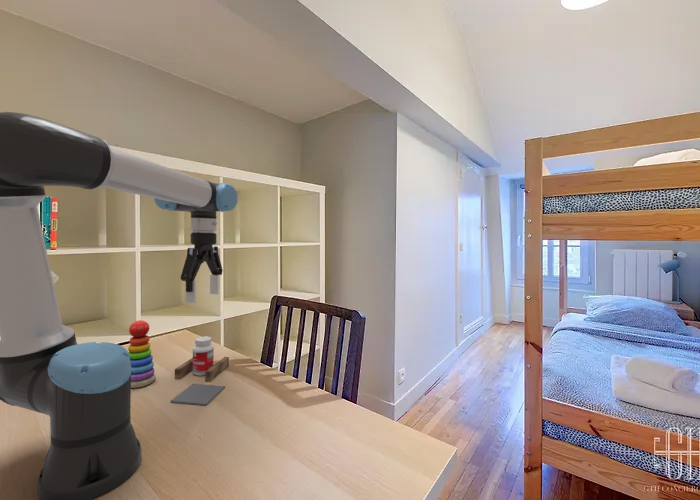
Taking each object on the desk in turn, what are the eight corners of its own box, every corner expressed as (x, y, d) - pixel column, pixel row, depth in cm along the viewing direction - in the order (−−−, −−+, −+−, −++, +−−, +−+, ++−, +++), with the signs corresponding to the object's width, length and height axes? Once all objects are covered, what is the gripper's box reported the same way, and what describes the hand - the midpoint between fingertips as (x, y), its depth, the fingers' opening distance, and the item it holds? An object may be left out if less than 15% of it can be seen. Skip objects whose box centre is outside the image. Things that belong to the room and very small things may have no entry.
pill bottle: (188, 374, 103) (188, 340, 102) (202, 366, 109) (203, 334, 108) (203, 377, 101) (203, 342, 100) (217, 369, 106) (217, 337, 106)
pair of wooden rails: (210, 381, 98) (210, 371, 98) (174, 378, 99) (174, 369, 99) (228, 365, 110) (228, 357, 110) (197, 363, 111) (197, 354, 111)
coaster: (206, 405, 84) (206, 403, 84) (170, 402, 85) (170, 400, 85) (224, 387, 94) (224, 386, 94) (192, 385, 95) (192, 383, 95)
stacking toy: (161, 377, 100) (161, 318, 99) (142, 390, 92) (142, 325, 91) (138, 375, 100) (137, 316, 99) (117, 388, 92) (116, 323, 92)
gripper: (191, 232, 90) (191, 307, 91) (233, 232, 114) (232, 291, 115) (166, 231, 90) (166, 305, 91) (213, 231, 115) (212, 290, 116)
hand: (203, 298), depth 103 cm, fingers open, 13 cm apart
